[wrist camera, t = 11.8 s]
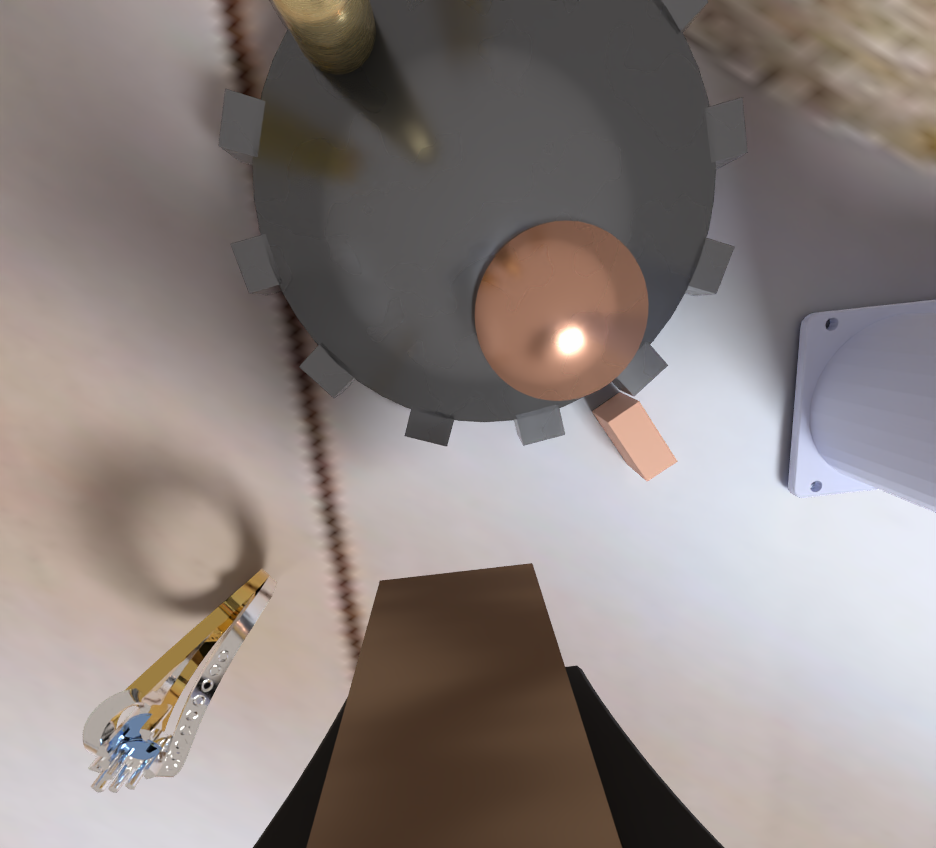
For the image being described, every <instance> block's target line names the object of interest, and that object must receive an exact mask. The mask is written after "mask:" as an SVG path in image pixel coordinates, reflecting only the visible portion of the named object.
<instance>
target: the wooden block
mask: <svg viewBox="0 0 936 848" xmlns="http://www.w3.org/2000/svg"><path fill="white" fill-rule="evenodd" d="M306 848H622V846H621V843H620V840H619V837H618V833H617V830H616V827H615V824H614V821H613V818H612V814H611V811H610V808H609V805H608V802H607V799H606V795H605V792H604V789H603V786H602V783H601V780H600V776H599V773H598V770H597V767H596V764H595V761H594V757H593V754H592V751H591V748H590V745H589V742H588V738H587V735H586V732H585V729H584V726H583V723H582V719H581V716H580V713H579V710H578V707H577V704H576V700H575V697H574V694H573V691H572V688H571V685H570V681H569V678H568V675H567V672H566V669H565V666H564V662H563V659H562V656H561V653H560V650H559V647H558V643H557V640H556V637H555V634H554V631H553V628H552V624H551V621H550V618H549V615H548V612H547V609H546V605H545V602H544V599H543V596H542V593H541V590H540V586H539V583H538V580H537V577H536V574H535V571H534V567H533V564H532V563H531V564H522V565H513V566H504V567H496V568H487V569H478V570H469V571H461V572H452V573H443V574H435V575H426V576H417V577H408V578H400V579H391V580H382V581H380V582H379V586H378V590H377V593H376V597H375V600H374V604H373V608H372V611H371V615H370V619H369V622H368V626H367V630H366V633H365V637H364V640H363V644H362V648H361V651H360V655H359V659H358V662H357V666H356V670H355V673H354V677H353V680H352V684H351V688H350V691H349V695H348V699H347V702H346V706H345V709H344V713H343V717H342V720H341V724H340V728H339V731H338V735H337V739H336V742H335V746H334V749H333V753H332V757H331V760H330V764H329V768H328V771H327V775H326V778H325V782H324V786H323V789H322V793H321V797H320V800H319V804H318V808H317V811H316V815H315V818H314V822H313V826H312V829H311V833H310V837H309V840H308V844H307V847H306Z"/></svg>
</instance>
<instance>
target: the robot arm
mask: <svg viewBox="0 0 936 848" xmlns="http://www.w3.org/2000/svg"><path fill="white" fill-rule="evenodd" d="M828 319H829V320H830V325H829V327H828V328H827V329H826V326H825V324H826V321H827V320H828ZM813 482H815V484H814V486H813V487H812V488H810V487H811V484H812V483H813ZM877 489H879V490H882V491H884V492H886V493H889V494H891V495H894V496H896V497H899V498H901V499H903V500H906V501H908V502H911V503H913V504H916V505H918V506H920V507H923V508H925V509H928V510H930V511H933V512H935V513H936V299H934V300H925V301H916V302H907V303H898V304H889V305H880V306H871V307H862V308H853V309H843V310H834V311H825V312H816V313H811V314H809V315H807V316H806V317H805V318H804V319H803V321H802V323H801V327H800V340H799V353H798V365H797V378H796V391H795V403H794V416H793V428H792V441H791V454H790V466H789V479H788V490H789V491H790V493H792V494H793V495H795V496H797V497H799V498H806V497H815V496H824V495H833V494H841V493H850V492H859V491H868V490H877ZM565 669H566V672H567V675H568V678H569V681H570V685H571V688H572V691H573V694H574V697H575V700H576V704H577V707H578V710H579V713H580V716H581V719H582V723H583V726H584V729H585V732H586V735H587V738H588V742H589V745H590V748H591V751H592V754H593V757H594V761H595V764H596V767H597V770H598V773H599V776H600V780H601V783H602V786H603V789H604V792H605V795H606V799H607V802H608V805H609V808H610V811H611V814H612V818H613V821H614V824H615V827H616V830H617V833H618V837H619V840H620V843H621V846H622V848H724V847H723V846H722V845H721V844H720V843H719V842H718V841H717V840H716V839H715V837H714V836H713V835H712V834H711V833H710V832H709V831H708V830H707V829H706V828H705V827H704V826H703V825H702V824H701V823H700V822H699V821H698V819H697V818H696V817H695V816H694V815H693V814H692V813H691V812H690V811H689V810H688V808H687V807H686V806H685V805H684V804H683V803H682V802H681V801H680V799H679V798H678V797H677V796H676V795H675V794H674V793H673V791H672V790H671V789H670V788H669V787H668V786H667V784H666V783H665V782H664V781H663V780H662V779H661V777H660V776H659V775H658V774H657V773H656V771H655V770H654V769H653V768H652V767H651V765H650V764H649V763H648V762H647V760H646V759H645V758H644V757H643V755H642V754H641V753H640V752H639V750H638V749H637V748H636V746H635V745H634V744H633V743H632V741H631V740H630V739H629V737H628V736H627V735H626V734H625V732H624V731H623V730H622V728H621V727H620V726H619V724H618V723H617V722H616V720H615V719H614V718H613V716H612V715H611V713H610V712H609V710H608V709H607V708H606V706H605V705H604V703H603V702H602V701H601V699H600V698H599V696H598V695H597V693H596V692H595V690H594V689H593V687H592V685H591V684H590V682H589V681H588V679H587V677H586V676H585V674H584V672H583V671H582V669H580V668H579V667H578V666H571V667H565ZM347 699H348V697H347ZM347 699H346V701H345V703H344V705H343V706H342V708H341V710H340V712H339V713H338V715H337V717H336V719H335V720H334V722H333V724H332V726H331V727H330V729H329V731H328V733H327V734H326V736H325V738H324V739H323V741H322V743H321V744H320V746H319V748H318V749H317V751H316V753H315V754H314V756H313V758H312V759H311V761H310V762H309V764H308V766H307V767H306V769H305V770H304V772H303V773H302V775H301V777H300V778H299V780H298V781H297V783H296V785H295V786H294V788H293V789H292V791H291V792H290V794H289V796H288V797H287V799H286V800H285V802H284V803H283V804H282V806H281V807H280V809H279V810H278V812H277V813H276V815H275V816H274V818H273V819H272V821H271V822H270V824H269V825H268V826H267V828H266V829H265V831H264V832H263V834H262V835H261V837H260V838H259V840H258V841H257V842H256V844H255V845H254V847H253V848H306V847H307V844H308V840H309V837H310V833H311V829H312V826H313V822H314V818H315V815H316V811H317V808H318V804H319V800H320V797H321V793H322V789H323V786H324V782H325V778H326V775H327V771H328V768H329V764H330V760H331V757H332V753H333V749H334V746H335V742H336V739H337V735H338V731H339V728H340V724H341V720H342V717H343V713H344V709H345V706H346V702H347Z"/></svg>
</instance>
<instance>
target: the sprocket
mask: <svg viewBox="0 0 936 848" xmlns="http://www.w3.org/2000/svg"><path fill="white" fill-rule="evenodd" d="M269 1H270V2H271V4H272V6H273V7H274V9H275V11H276V13H277V14H278V16H279V18H280V19H281V21H282V23H283V24H284V26H285V27H286V28H287V29H288V30H287V32H286V34H285V36H284V38H283V41H282V43H281V45H280V47H279V49H278V51H277V53H276V55H275V57H274V59H273V61H272V64H271V67H270V70H269V73H268V76H267V79H266V82H265V85H264V88H263V91H262V95H261V100H260V99H257V98H254V97H251V96H247V95H244V94H241V93H238V92H234V91H231V90H228V89H225V96H224V105H223V113H222V121H221V130H220V138H219V147H221V148H222V149H224V150H225V151H226V152H228V153H229V154H231V155H232V156H233V157H235V158H236V159H238V160H239V161H240V162H243V163H246V164H249V165H252V167H253V188H254V200H255V206H256V212H257V218H258V224H259V229H260V233H261V235H260V236H257V237H253V238H250V239H246V240H243V241H239V242H236V243H232V244H231V246H232V249H233V252H234V254H235V257H236V260H237V262H238V265H239V268H240V270H241V273H242V275H243V278H244V281H245V283H246V286H247V289H248V291H249V293H252V294H262V295H270V294H273V293H277V292H280V291H282V292H283V294H284V296H285V297H286V299H287V301H288V303H289V304H290V306H291V308H292V310H293V311H294V313H295V315H296V316H297V318H298V319H299V321H300V322H301V323H302V325H303V326H304V327H305V329H306V330H307V331H308V333H309V334H310V335H311V337H312V338H313V339H314V341H315V342H316V343H317V344H318V347H317V348H316V349H315V350H314V351H313V352H312V353H311V354H310V355H309V356H308V357H307V359H306V360H305V361H304V362H303V363H302V364H301V365H300V366H299V367H300V368H301V369H302V370H303V371H304V372H305V373H307V374H308V375H309V376H310V377H311V378H312V379H313V380H314V381H315V382H317V383H318V384H319V385H320V386H321V387H322V388H323V389H324V390H325V391H327V392H328V393H329V394H330V395H331V396H332V397H333V398H335V397H336V396H338V395H339V394H341V393H342V392H344V391H345V390H346V389H347V387H348V386H349V385H350V384H351V383H352V382H353V381H354V380H355V379H356V380H357V381H359V382H360V383H362V384H364V385H365V386H367V387H368V388H370V389H372V390H373V391H375V392H376V393H378V394H380V395H381V396H383V397H385V398H387V399H390V400H392V401H394V402H396V403H398V404H400V405H402V406H405V407H407V408H410V409H411V412H410V416H409V420H408V425H407V429H406V433H405V436H407V437H411V438H415V439H419V440H423V441H427V442H431V443H435V444H439V445H443V446H447V444H448V440H449V437H450V433H451V429H452V426H453V422H454V420H458V421H474V422H494V421H508V420H514V422H515V426H516V430H517V434H518V436H519V438H520V440H521V442H522V444H523V446H524V445H528V444H532V443H535V442H539V441H543V440H547V439H551V438H554V437H558V436H562V435H565V432H564V427H563V423H562V418H561V414H560V409H559V408H561V407H564V406H566V405H568V404H570V403H572V402H574V401H576V400H578V399H580V398H582V397H584V396H587V395H589V394H592V393H594V392H596V391H598V390H600V389H601V388H603V387H605V386H606V385H608V384H609V383H610V382H613V383H614V385H615V386H616V387H617V388H618V389H619V390H621V391H623V392H626V393H628V394H630V395H632V396H635V395H636V394H637V393H638V392H640V391H641V390H642V389H643V388H644V387H645V386H646V385H647V384H648V383H649V382H650V381H652V380H653V379H654V378H655V377H656V376H657V375H658V374H659V373H660V372H661V371H662V370H664V369H665V368H666V367H667V366H668V365H667V364H666V362H665V361H664V360H663V359H662V358H661V357H660V356H659V354H658V353H657V352H656V351H655V350H654V349H653V348H652V346H651V345H650V344H651V343H652V342H653V341H654V339H655V338H656V337H657V335H658V334H659V333H660V331H661V330H662V329H663V327H664V326H665V325H666V323H667V322H668V321H669V319H670V318H671V316H672V315H673V313H674V311H675V310H676V308H677V306H678V304H679V303H680V301H681V299H682V297H683V296H684V294H685V293H686V294H689V295H692V296H697V295H710V294H717V291H718V288H719V286H720V283H721V281H722V278H723V275H724V273H725V270H726V268H727V265H728V262H729V260H730V257H731V255H732V252H733V249H734V246H731V245H728V244H724V243H721V242H718V241H715V240H712V239H708V238H706V237H707V234H708V229H709V224H710V218H711V213H712V207H713V202H714V189H715V174H716V169H717V168H720V167H722V166H724V165H726V164H728V163H729V162H731V161H733V160H735V159H737V158H738V157H740V156H742V155H744V154H746V153H748V152H747V141H746V131H745V120H744V110H743V99H742V98H738V99H735V100H731V101H728V102H724V103H721V104H717V105H714V106H711V107H709V101H708V98H707V94H706V91H705V88H704V84H703V81H702V78H701V74H700V71H699V68H698V66H697V63H696V61H695V59H694V57H693V54H692V52H691V50H690V48H689V45H688V43H687V41H686V39H685V37H684V35H683V32H684V31H685V30H686V29H687V27H688V26H689V25H690V24H691V22H692V21H693V20H694V19H695V18H696V16H697V15H698V14H699V13H700V11H701V10H702V9H703V8H704V7H705V5H706V4H707V3H708V1H707V0H269Z"/></svg>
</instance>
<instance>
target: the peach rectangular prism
mask: <svg viewBox="0 0 936 848" xmlns="http://www.w3.org/2000/svg"><path fill="white" fill-rule="evenodd" d="M592 412H593V414H594V415H595V417H596V418H597V420H598V421H599V423H600V424H601V426H602V427H603V429H604V430H605V432H606V433H607V435H608V436H609V438H610V439H611V441H612V442H613V444H614V445H615V447H616V448H617V450H618V451H619V453H620V454H621V456H622V457H623V459H624V460H625V462H626V463H627V465H628V466H630V467H631V468H632V469H633V470H634V471H635V472H637V473H638V474H639V475H640V476H641V477H642V478H644V479H645V480H646V481H649V480H650V479H652V478H653V477H655V476H656V475H658V474H659V473H661V472H662V471H664V470H665V469H667V468H668V467H670V466H672V465H673V464H675V463H676V462H678V461H677V460H676V458H675V457H674V455H673V454H672V452H671V451H670V449H669V447H668V446H667V444H666V443H665V441H664V440H663V438H662V436H661V435H660V433H659V432H658V430H657V429H656V427H655V425H654V424H653V422H652V421H651V419H650V418H649V416H648V414H647V413H646V411H645V410H644V408H643V407H642V405H641V403H640V402H639V401H637V400H635V399H633V398H631V397H629V396H627V395H625V394H622V393H620V392H619V393H618V394H616V395H615V396H613V397H612V398H611V399H609V400H608V401H606V402H605V403H603V404H602V405H600V406H599V407H598V408H596V409H595V410H593V411H592Z"/></svg>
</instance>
